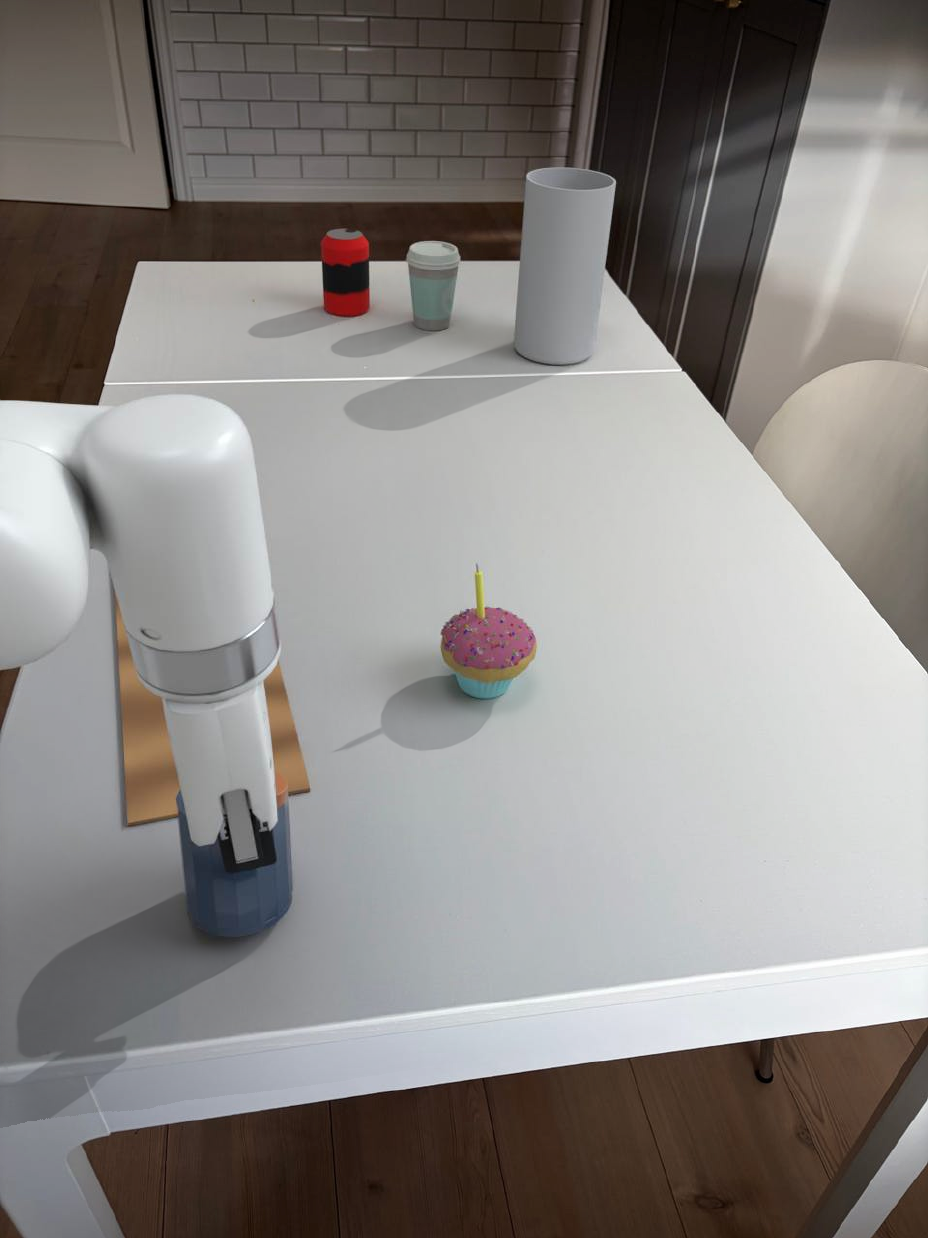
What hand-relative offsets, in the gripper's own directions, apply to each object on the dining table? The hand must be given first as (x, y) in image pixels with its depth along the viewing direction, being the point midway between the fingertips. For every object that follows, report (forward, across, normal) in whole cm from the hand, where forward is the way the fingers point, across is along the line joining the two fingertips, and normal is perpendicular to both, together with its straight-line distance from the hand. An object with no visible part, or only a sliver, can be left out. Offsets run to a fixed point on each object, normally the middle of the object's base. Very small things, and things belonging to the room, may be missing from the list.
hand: (250, 859), depth 63 cm
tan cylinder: (+8, -3, 0) cm, 8 cm away
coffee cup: (+11, -108, +40) cm, 116 cm away
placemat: (+9, -33, -2) cm, 34 cm away
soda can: (+10, -117, +28) cm, 121 cm away
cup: (+8, -3, -1) cm, 9 cm away
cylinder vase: (+11, -94, +56) cm, 110 cm away
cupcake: (+10, -22, +23) cm, 33 cm away
